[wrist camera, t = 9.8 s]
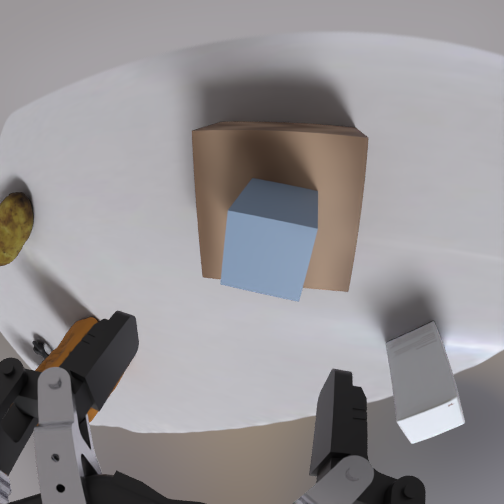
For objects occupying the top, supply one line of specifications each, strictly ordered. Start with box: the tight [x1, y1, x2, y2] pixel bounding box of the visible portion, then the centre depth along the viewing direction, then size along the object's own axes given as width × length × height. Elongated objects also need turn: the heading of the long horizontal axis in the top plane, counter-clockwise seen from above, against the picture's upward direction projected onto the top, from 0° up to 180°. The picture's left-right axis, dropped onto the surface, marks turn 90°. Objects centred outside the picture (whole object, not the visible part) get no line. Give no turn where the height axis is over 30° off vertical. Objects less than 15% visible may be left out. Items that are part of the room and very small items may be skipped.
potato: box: [0, 192, 33, 266], centre depth 38 cm, size 8×13×8 cm, turn 118°
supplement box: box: [386, 321, 465, 444], centre depth 32 cm, size 7×7×13 cm
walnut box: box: [192, 122, 368, 292], centre depth 28 cm, size 13×13×8 cm
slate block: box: [220, 178, 318, 302], centre depth 21 cm, size 5×5×7 cm
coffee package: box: [10, 317, 129, 426], centre depth 41 cm, size 10×12×22 cm
